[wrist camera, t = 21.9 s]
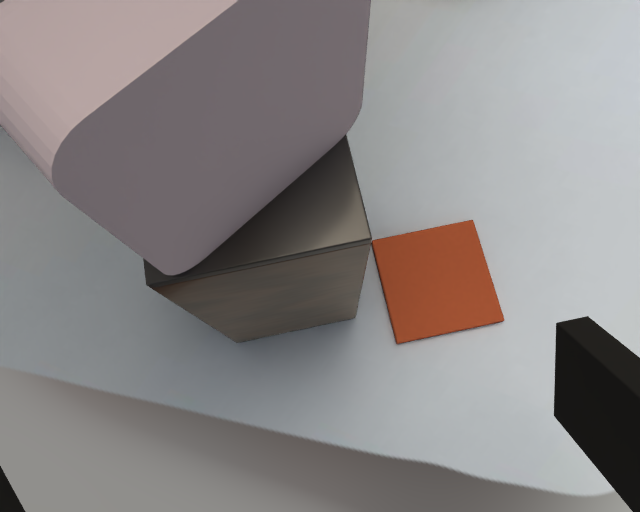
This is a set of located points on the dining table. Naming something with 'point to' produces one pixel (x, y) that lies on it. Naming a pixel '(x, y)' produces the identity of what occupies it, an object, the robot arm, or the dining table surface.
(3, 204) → the dining table surface
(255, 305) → the block
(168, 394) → the dining table surface
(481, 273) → the terracotta mat
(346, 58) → the electronic device
